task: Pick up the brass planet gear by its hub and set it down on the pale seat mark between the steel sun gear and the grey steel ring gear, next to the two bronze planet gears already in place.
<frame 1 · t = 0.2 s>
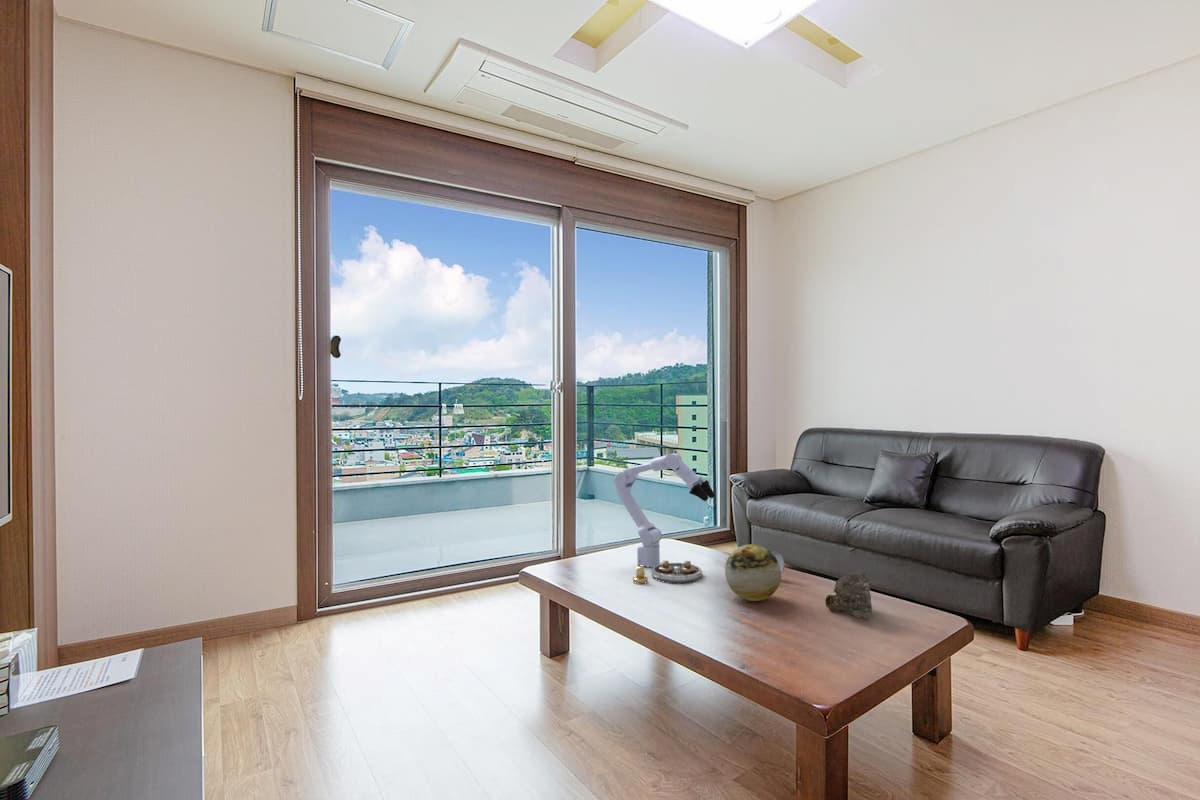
hand: (710, 498, 255), 32 cm above the table, tool tilted 50°, fingers open, 7 cm apart
decorative sphere: (753, 600, 222), on the table
carrier: (676, 575, 253), on the table
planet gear: (640, 581, 245), on the table
pocket watch: (764, 582, 243), on the table
rock: (850, 614, 207), on the table
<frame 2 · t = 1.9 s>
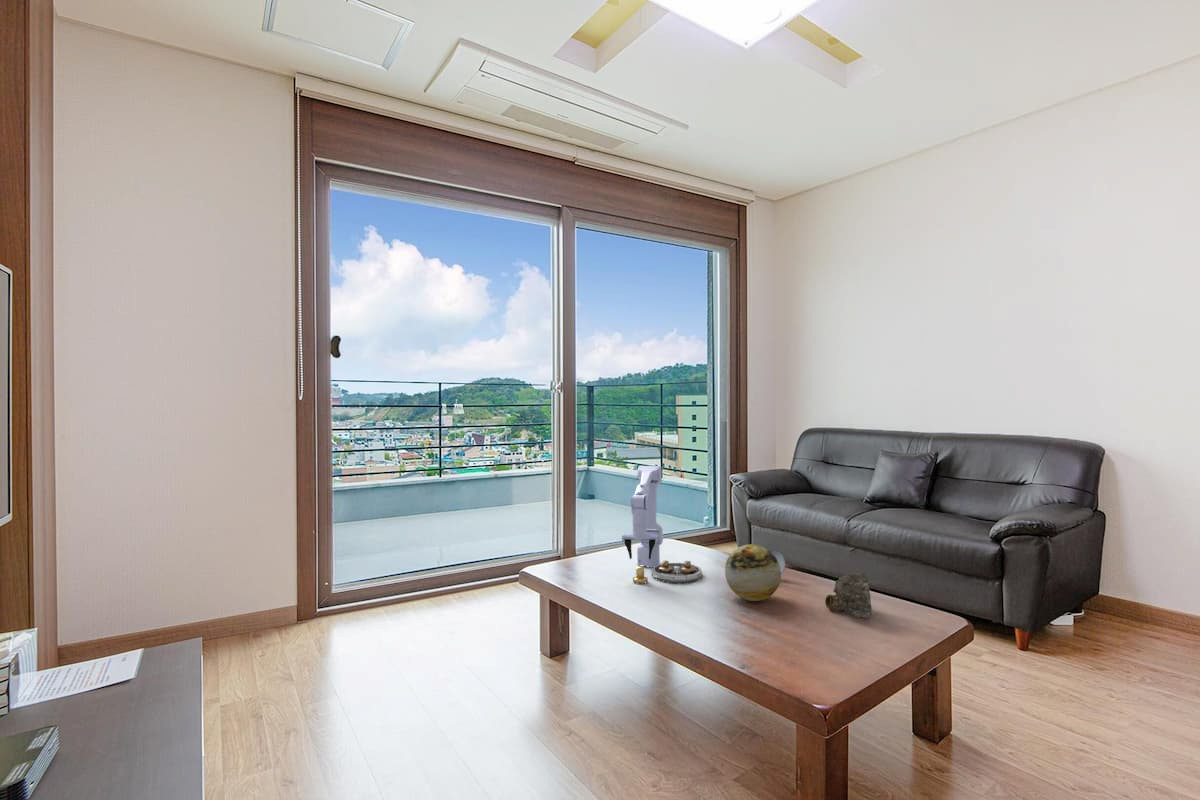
hand: (640, 558, 245), 9 cm above the table, tool pointing down, fingers open, 7 cm apart
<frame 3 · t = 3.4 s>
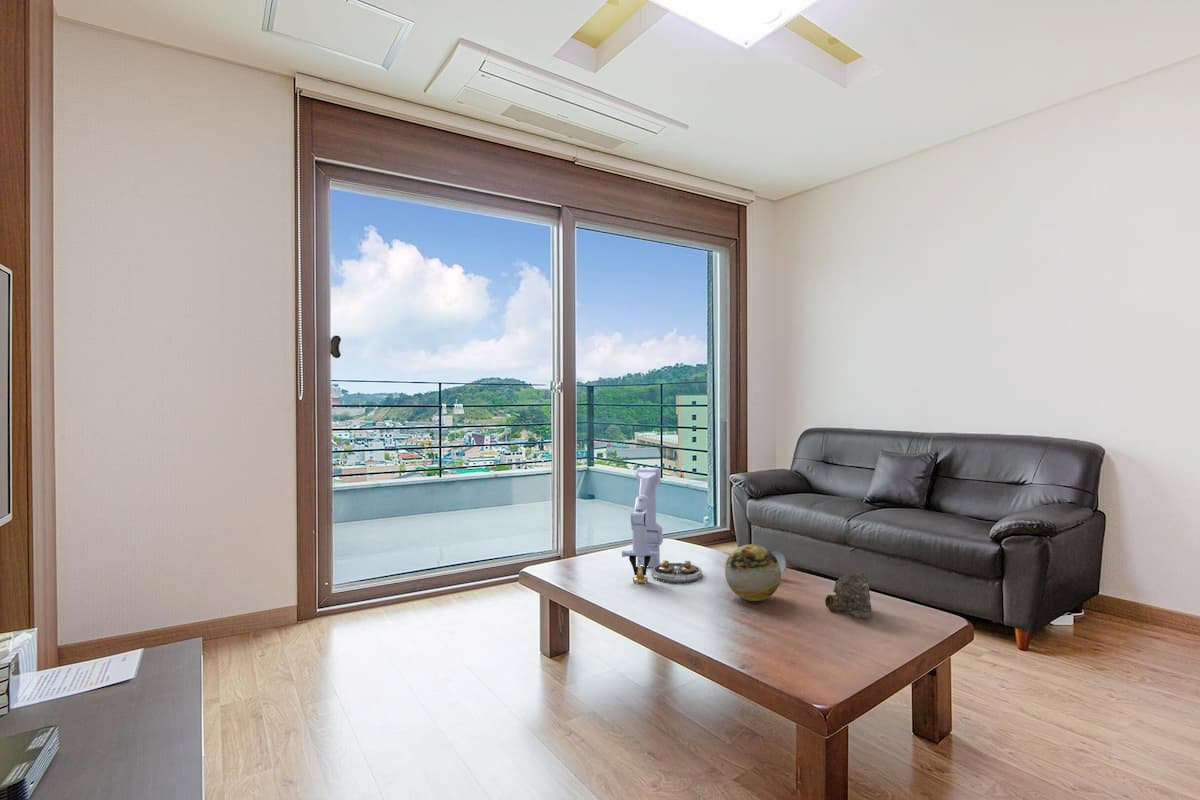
hand: (640, 574, 245), 3 cm above the table, tool pointing down, fingers closed on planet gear, 3 cm apart
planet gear: (640, 581, 245), on the table, touching gripper
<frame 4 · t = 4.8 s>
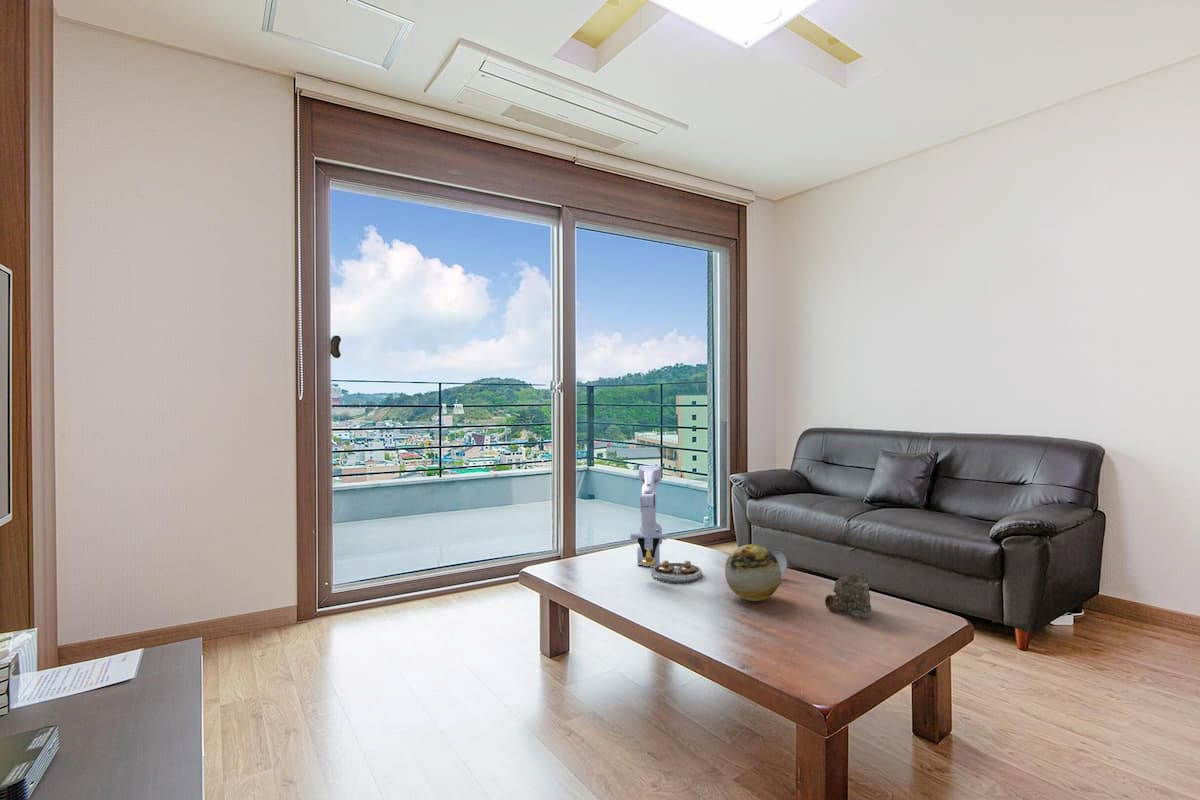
hand: (648, 556, 246), 10 cm above the table, tool pointing down, fingers closed on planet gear, 3 cm apart
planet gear: (648, 564, 246), point 7 cm above the table, touching gripper
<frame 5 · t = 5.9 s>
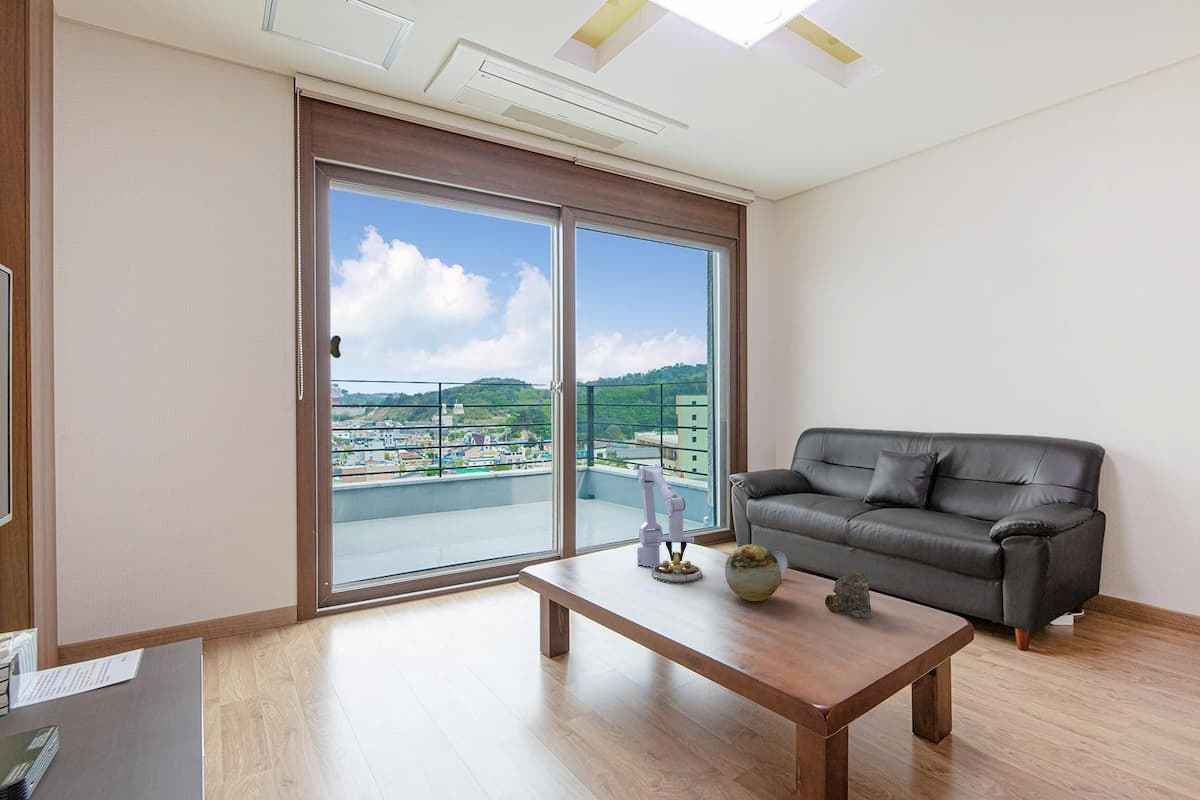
hand: (676, 560, 247), 8 cm above the table, tool pointing down, fingers closed on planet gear, 3 cm apart
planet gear: (676, 567, 247), point 5 cm above the table, touching gripper
when the fingers open (5 cm above the table, at t = 6.7 s): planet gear stays where it is, resting on carrier.
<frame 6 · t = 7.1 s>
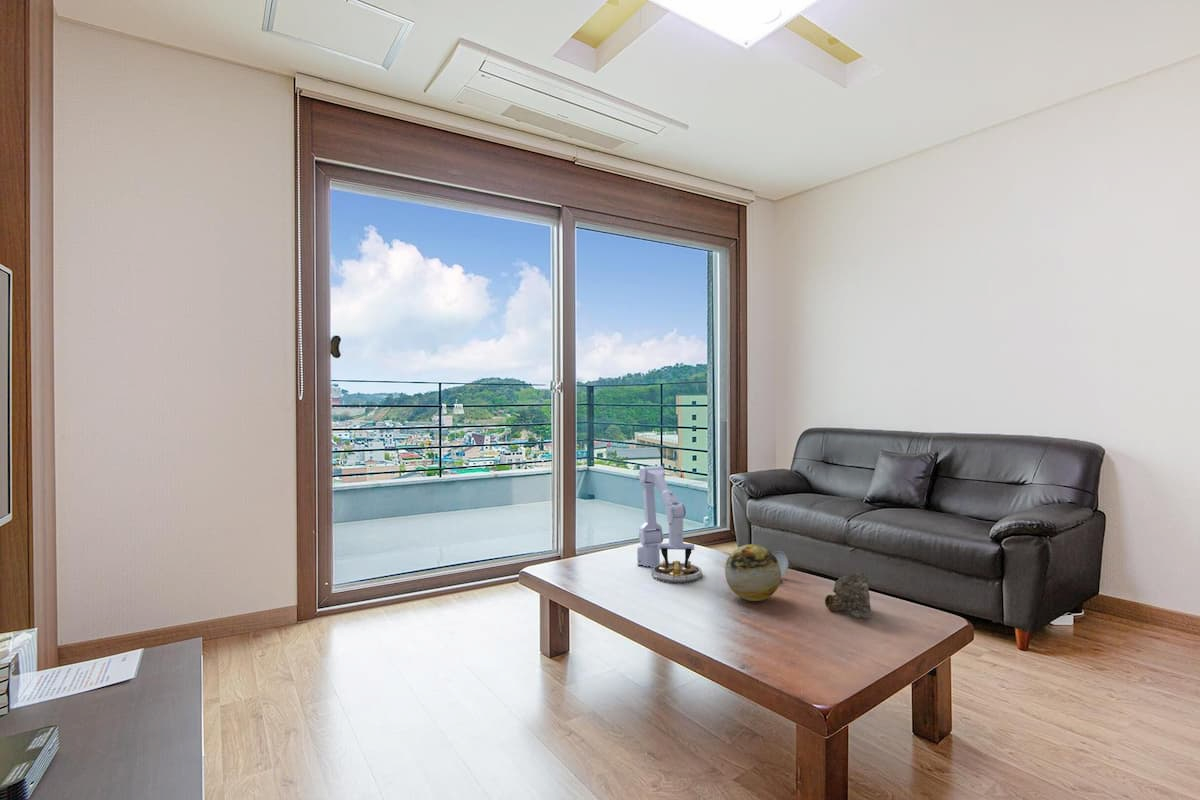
hand: (676, 567, 247), 5 cm above the table, tool pointing down, fingers open, 7 cm apart
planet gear: (676, 576, 247), point 1 cm above the table, touching carrier
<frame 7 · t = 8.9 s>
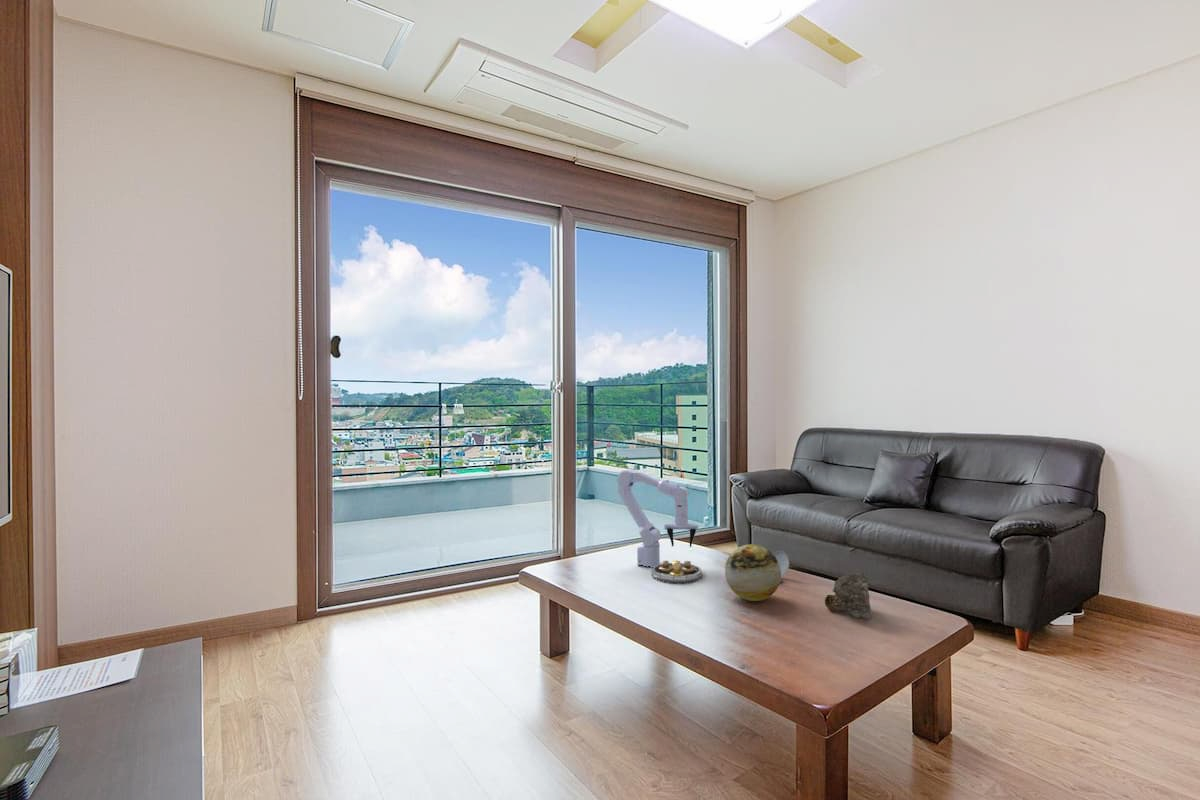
hand: (681, 546, 264), 10 cm above the table, tool pointing down, fingers open, 7 cm apart
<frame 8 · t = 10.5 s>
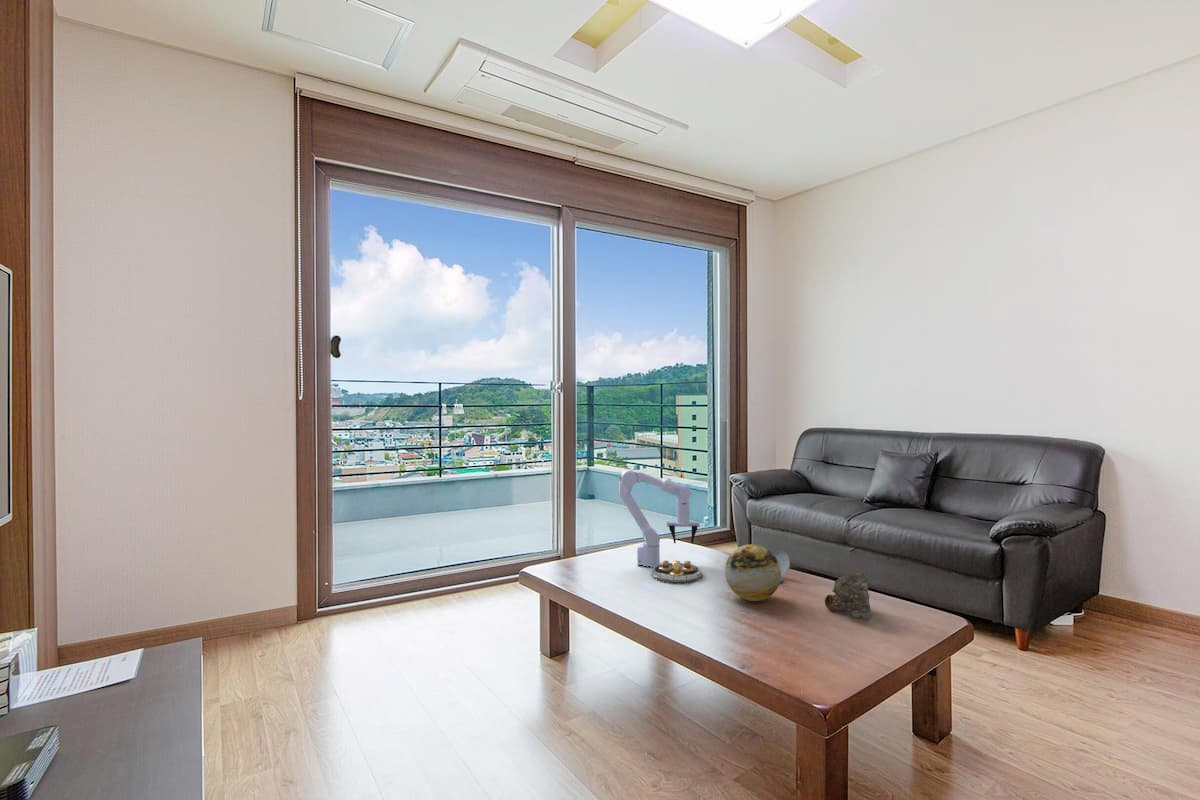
hand: (683, 542, 270), 9 cm above the table, tool pointing down, fingers open, 7 cm apart
at the end: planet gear 0.1 cm from the target spot on the carrier, point 1.3 cm above the carrier's base; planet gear tilted 0°; the gripper is holding nothing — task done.
